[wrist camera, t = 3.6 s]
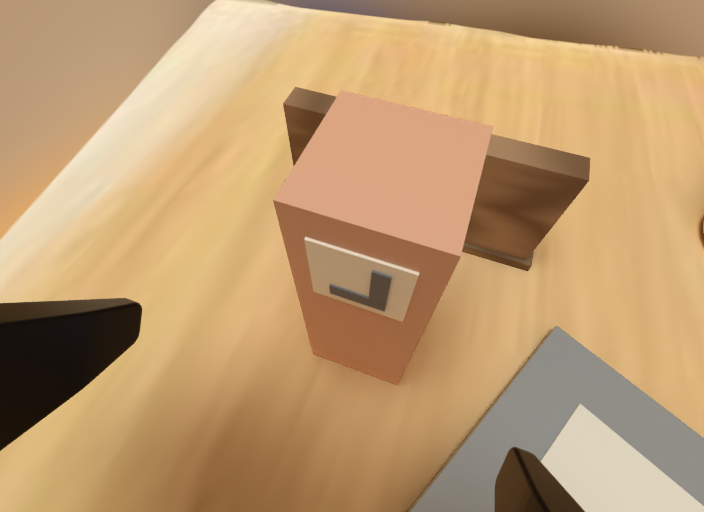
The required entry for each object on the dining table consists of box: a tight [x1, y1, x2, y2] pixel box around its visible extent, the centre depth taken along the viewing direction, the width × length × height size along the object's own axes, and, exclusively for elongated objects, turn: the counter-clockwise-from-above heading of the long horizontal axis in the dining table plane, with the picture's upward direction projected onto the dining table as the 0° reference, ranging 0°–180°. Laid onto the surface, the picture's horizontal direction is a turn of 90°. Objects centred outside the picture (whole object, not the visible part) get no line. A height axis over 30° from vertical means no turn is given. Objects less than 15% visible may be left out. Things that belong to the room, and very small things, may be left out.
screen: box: [283, 87, 590, 271], centre depth 23 cm, size 17×2×8 cm, turn 70°
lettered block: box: [273, 90, 493, 385], centre depth 16 cm, size 5×5×14 cm
